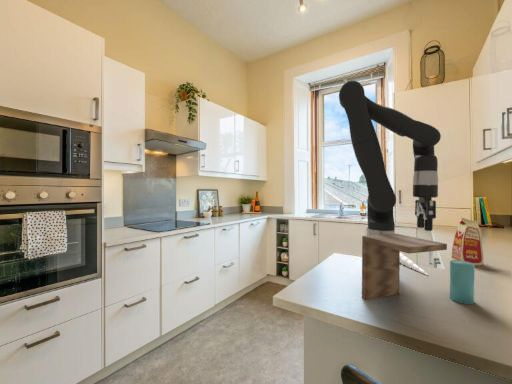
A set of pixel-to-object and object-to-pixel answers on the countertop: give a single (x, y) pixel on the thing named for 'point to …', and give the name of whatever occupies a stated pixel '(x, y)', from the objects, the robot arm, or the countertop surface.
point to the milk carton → (468, 243)
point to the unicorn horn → (410, 264)
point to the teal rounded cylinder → (462, 281)
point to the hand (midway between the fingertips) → (424, 229)
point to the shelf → (388, 261)
